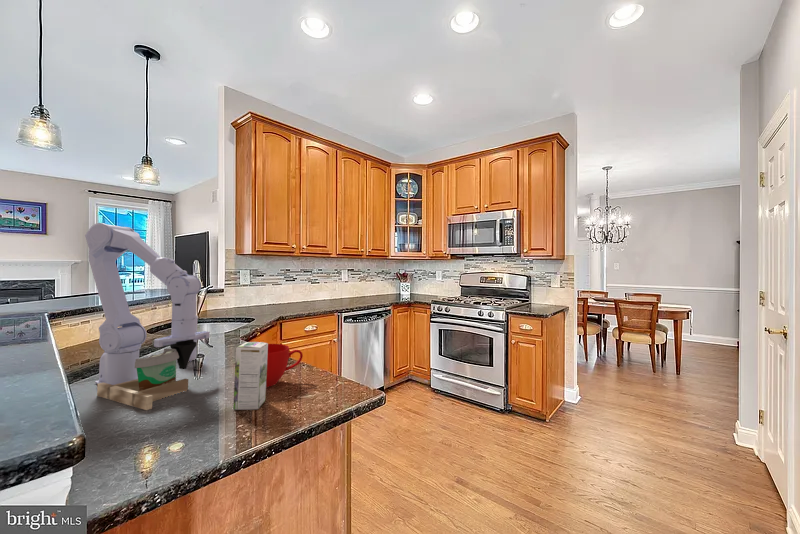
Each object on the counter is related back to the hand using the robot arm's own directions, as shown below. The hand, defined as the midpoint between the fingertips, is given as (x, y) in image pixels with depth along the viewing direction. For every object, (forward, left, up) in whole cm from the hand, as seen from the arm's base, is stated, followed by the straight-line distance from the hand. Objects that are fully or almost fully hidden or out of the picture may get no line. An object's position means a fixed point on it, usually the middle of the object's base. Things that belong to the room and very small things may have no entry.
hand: (182, 368), depth 97 cm
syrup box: (+28, -2, -5) cm, 28 cm away
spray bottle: (-24, +18, -5) cm, 30 cm away
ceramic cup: (+20, +13, -5) cm, 24 cm away
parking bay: (0, -8, -5) cm, 9 cm away
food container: (+2, -6, -4) cm, 8 cm away
